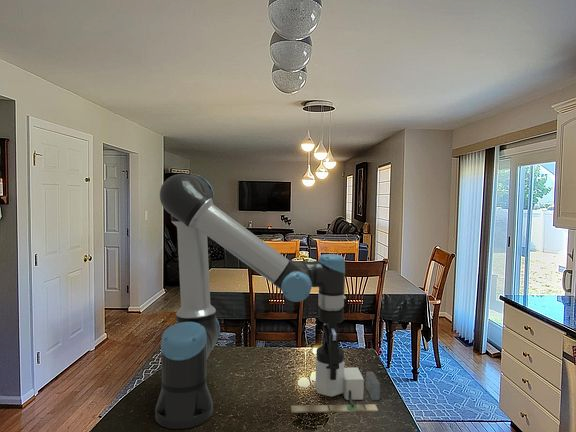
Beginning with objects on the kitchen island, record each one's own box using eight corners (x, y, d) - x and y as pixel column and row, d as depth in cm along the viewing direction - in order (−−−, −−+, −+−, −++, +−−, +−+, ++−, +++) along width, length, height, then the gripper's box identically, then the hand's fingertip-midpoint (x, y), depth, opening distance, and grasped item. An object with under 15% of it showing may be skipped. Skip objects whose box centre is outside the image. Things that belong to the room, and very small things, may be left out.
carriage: (347, 408, 117) (348, 387, 116) (339, 386, 129) (340, 367, 129) (367, 407, 117) (367, 386, 116) (357, 386, 129) (357, 367, 129)
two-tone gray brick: (372, 400, 122) (373, 383, 121) (366, 387, 130) (366, 371, 129) (379, 400, 122) (379, 383, 121) (372, 387, 130) (372, 371, 129)
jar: (326, 399, 119) (327, 358, 118) (309, 387, 126) (309, 348, 125) (349, 391, 124) (350, 351, 123) (332, 380, 131) (333, 343, 130)
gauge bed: (291, 412, 114) (291, 411, 114) (290, 407, 117) (290, 405, 117) (378, 411, 116) (378, 409, 116) (375, 405, 119) (375, 404, 119)
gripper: (351, 318, 113) (349, 399, 114) (337, 297, 134) (335, 365, 136) (323, 318, 112) (321, 400, 114) (314, 297, 134) (312, 366, 135)
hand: (329, 381), depth 125 cm, fingers closed on jar, 9 cm apart
